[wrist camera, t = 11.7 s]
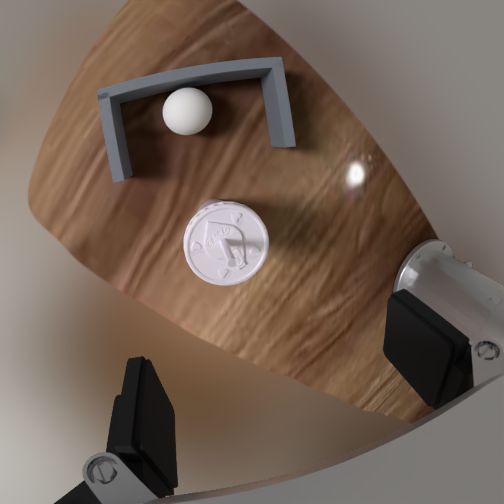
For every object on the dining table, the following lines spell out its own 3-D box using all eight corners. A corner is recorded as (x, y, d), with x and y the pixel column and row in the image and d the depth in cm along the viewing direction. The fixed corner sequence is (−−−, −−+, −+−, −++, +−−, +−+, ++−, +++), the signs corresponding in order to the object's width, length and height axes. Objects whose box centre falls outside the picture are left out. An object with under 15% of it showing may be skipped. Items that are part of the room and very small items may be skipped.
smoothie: (222, 173, 30) (251, 195, 17) (257, 222, 32) (306, 276, 19) (170, 211, 30) (161, 262, 17) (208, 258, 33) (225, 333, 20)
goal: (268, 68, 27) (281, 56, 23) (280, 145, 30) (295, 146, 26) (109, 97, 25) (97, 89, 21) (123, 177, 28) (113, 182, 24)
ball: (217, 121, 23) (218, 130, 28) (203, 74, 22) (206, 89, 27) (165, 138, 23) (173, 144, 28) (152, 91, 22) (163, 103, 27)
